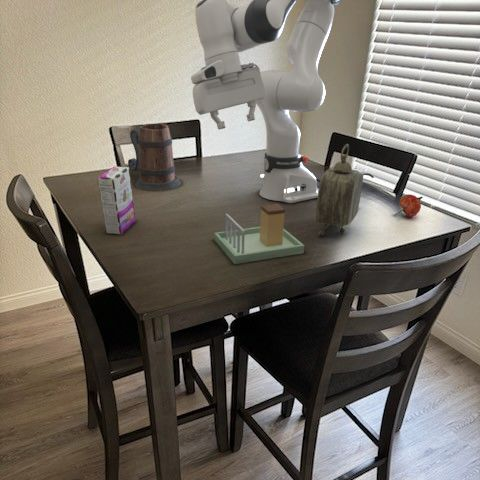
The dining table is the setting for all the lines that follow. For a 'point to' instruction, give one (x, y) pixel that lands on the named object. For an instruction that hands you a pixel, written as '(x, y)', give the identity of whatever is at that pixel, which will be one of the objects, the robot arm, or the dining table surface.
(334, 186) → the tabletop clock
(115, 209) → the candy bar box
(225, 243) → the dish rack
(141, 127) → the tankard
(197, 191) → the dining table surface
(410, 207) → the pomegranate
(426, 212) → the dining table surface
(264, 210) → the kraft box
